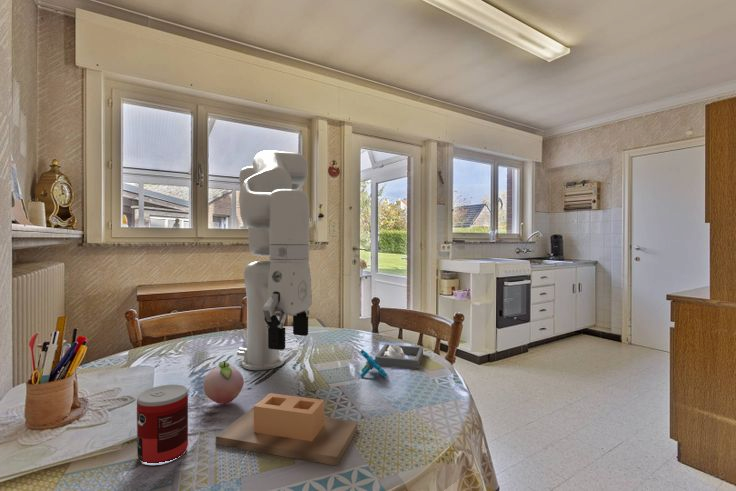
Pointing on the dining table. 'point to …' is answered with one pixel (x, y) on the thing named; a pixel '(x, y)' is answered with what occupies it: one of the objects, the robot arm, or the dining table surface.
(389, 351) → the whipped cream
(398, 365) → the frame
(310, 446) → the locating board
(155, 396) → the canned food
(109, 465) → the dining table surface
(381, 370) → the gear
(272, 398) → the block with square holes
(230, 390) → the decorative fruit
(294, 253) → the robot arm
